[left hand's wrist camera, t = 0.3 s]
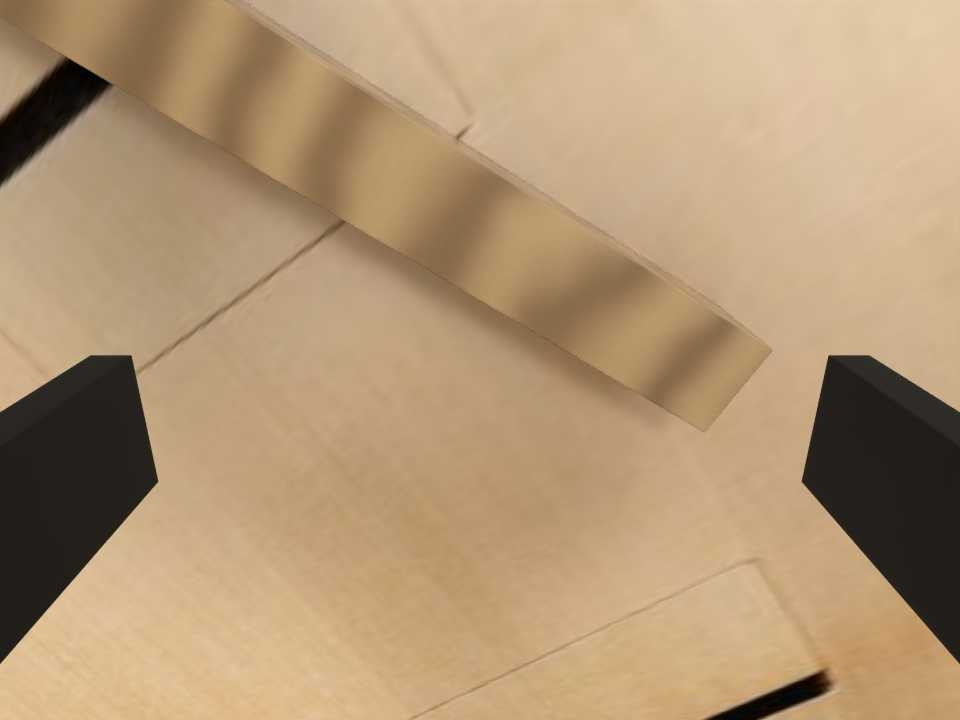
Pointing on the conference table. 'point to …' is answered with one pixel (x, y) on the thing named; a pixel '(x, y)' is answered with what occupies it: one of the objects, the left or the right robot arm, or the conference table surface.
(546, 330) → the post
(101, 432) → the left robot arm
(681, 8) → the conference table surface
